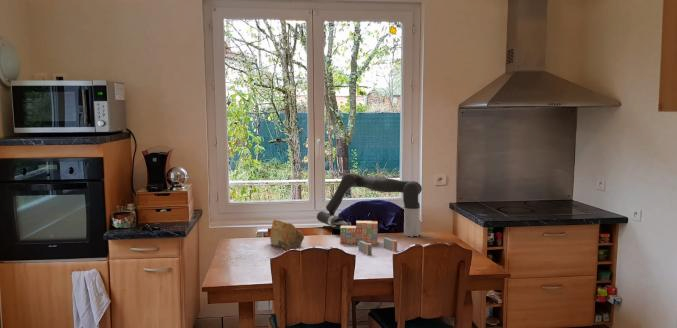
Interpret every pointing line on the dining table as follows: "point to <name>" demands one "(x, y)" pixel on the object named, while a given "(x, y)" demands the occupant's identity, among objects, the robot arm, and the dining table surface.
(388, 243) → the spaced upright blocks
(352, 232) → the stack of blocks
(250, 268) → the dining table surface
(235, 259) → the dining table surface
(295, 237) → the rough brown rock
